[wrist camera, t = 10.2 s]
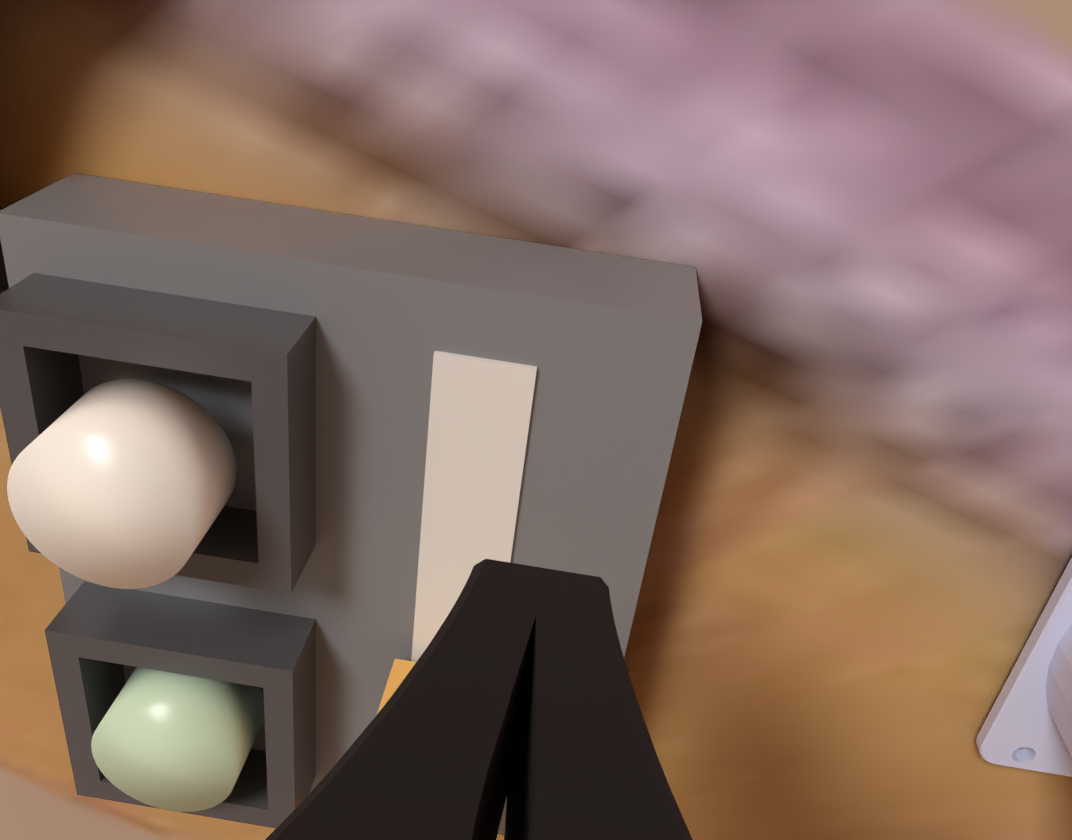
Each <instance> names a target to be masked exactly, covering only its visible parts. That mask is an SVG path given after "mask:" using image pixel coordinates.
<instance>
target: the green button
mask: <svg viewBox="0 0 1072 840" xmlns="http://www.w3.org/2000/svg"><path fill="white" fill-rule="evenodd" d="M264 719H265V716H264V696H263V694H262V692H261V690H260V688H259V687H255V686H249V685H243V684H237V683H231V682H225V681H219V680H213V679H207V678H201V677H195V676H189V675H183V674H177V673H171V672H165V671H158V670H152V669H146V668H140V667H136V668H135V670H134V671H133V673H132V675H131V676H130V678H129V679H128V681H127V682H126V684H125V685H124V687H123V688H122V690H121V691H120V693H119V695H118V696H117V698H116V699H115V701H114V702H113V704H112V705H111V707H110V708H109V710H108V712H107V713H106V715H105V716H104V718H103V719H102V721H101V722H100V724H99V725H98V727H97V729H96V730H95V732H94V734H93V737H92V742H91V749H92V754H93V758H94V760H95V762H96V764H97V766H98V768H99V769H100V771H101V772H102V773H103V775H104V776H105V777H106V778H107V779H108V780H109V781H110V782H111V783H112V784H113V785H114V786H116V787H117V788H118V789H119V790H121V791H122V792H124V793H125V794H127V795H129V796H130V797H132V798H134V799H136V800H138V801H140V802H142V803H145V804H148V805H150V806H153V807H157V808H160V809H165V810H170V811H178V812H194V811H201V810H205V809H209V808H212V807H214V806H216V805H218V804H220V803H221V802H223V801H224V800H225V799H226V798H227V797H228V796H229V795H230V793H231V791H232V789H233V787H234V785H235V783H236V781H237V778H238V776H239V774H240V772H241V770H242V768H243V765H244V763H245V761H246V759H247V757H248V754H249V752H250V750H251V748H252V746H253V743H254V741H255V739H256V737H257V735H258V732H259V730H260V728H261V726H262V724H263V721H264Z"/></svg>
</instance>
